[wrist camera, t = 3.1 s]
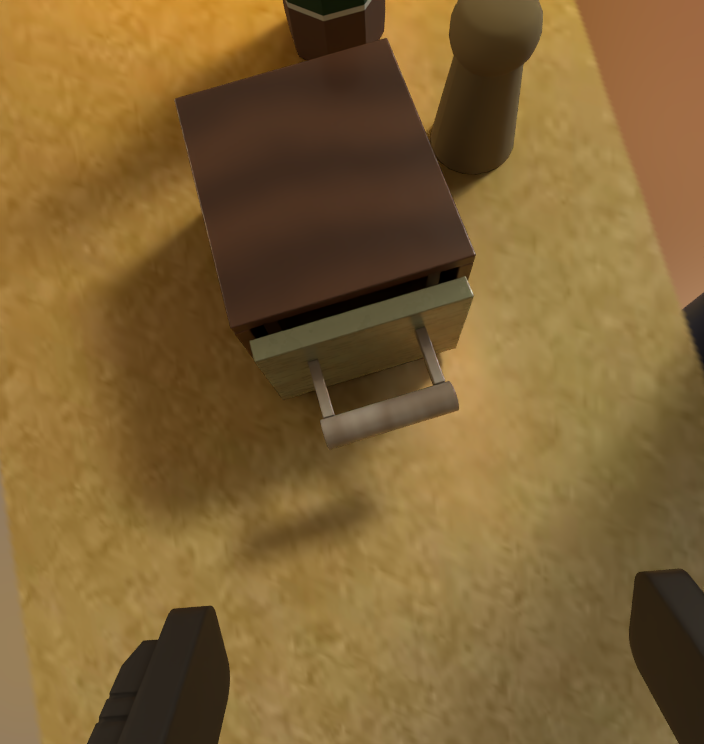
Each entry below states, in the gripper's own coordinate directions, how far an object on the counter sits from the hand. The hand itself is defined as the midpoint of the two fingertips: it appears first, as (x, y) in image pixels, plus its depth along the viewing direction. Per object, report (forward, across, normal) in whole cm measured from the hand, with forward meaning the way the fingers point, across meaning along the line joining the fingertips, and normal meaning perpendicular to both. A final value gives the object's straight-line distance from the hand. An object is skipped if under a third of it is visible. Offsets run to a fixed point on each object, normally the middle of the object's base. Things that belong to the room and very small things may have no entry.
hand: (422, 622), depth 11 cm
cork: (+36, -8, -8) cm, 38 cm away
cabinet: (+31, +3, -2) cm, 31 cm away
